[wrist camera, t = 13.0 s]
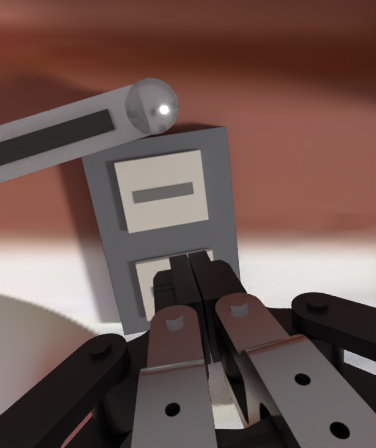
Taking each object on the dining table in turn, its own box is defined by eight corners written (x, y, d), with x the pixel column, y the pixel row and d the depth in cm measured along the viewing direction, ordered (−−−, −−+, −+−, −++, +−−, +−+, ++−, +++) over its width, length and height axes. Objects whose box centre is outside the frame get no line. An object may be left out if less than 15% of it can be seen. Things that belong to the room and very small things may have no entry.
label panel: (220, 126, 27) (228, 126, 25) (237, 300, 33) (245, 315, 31) (83, 146, 26) (77, 148, 24) (125, 322, 32) (124, 339, 30)
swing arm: (166, 76, 20) (170, 68, 17) (181, 125, 21) (186, 125, 18) (-164, 178, 19) (-212, 186, 17) (-132, 224, 20) (-172, 239, 18)
